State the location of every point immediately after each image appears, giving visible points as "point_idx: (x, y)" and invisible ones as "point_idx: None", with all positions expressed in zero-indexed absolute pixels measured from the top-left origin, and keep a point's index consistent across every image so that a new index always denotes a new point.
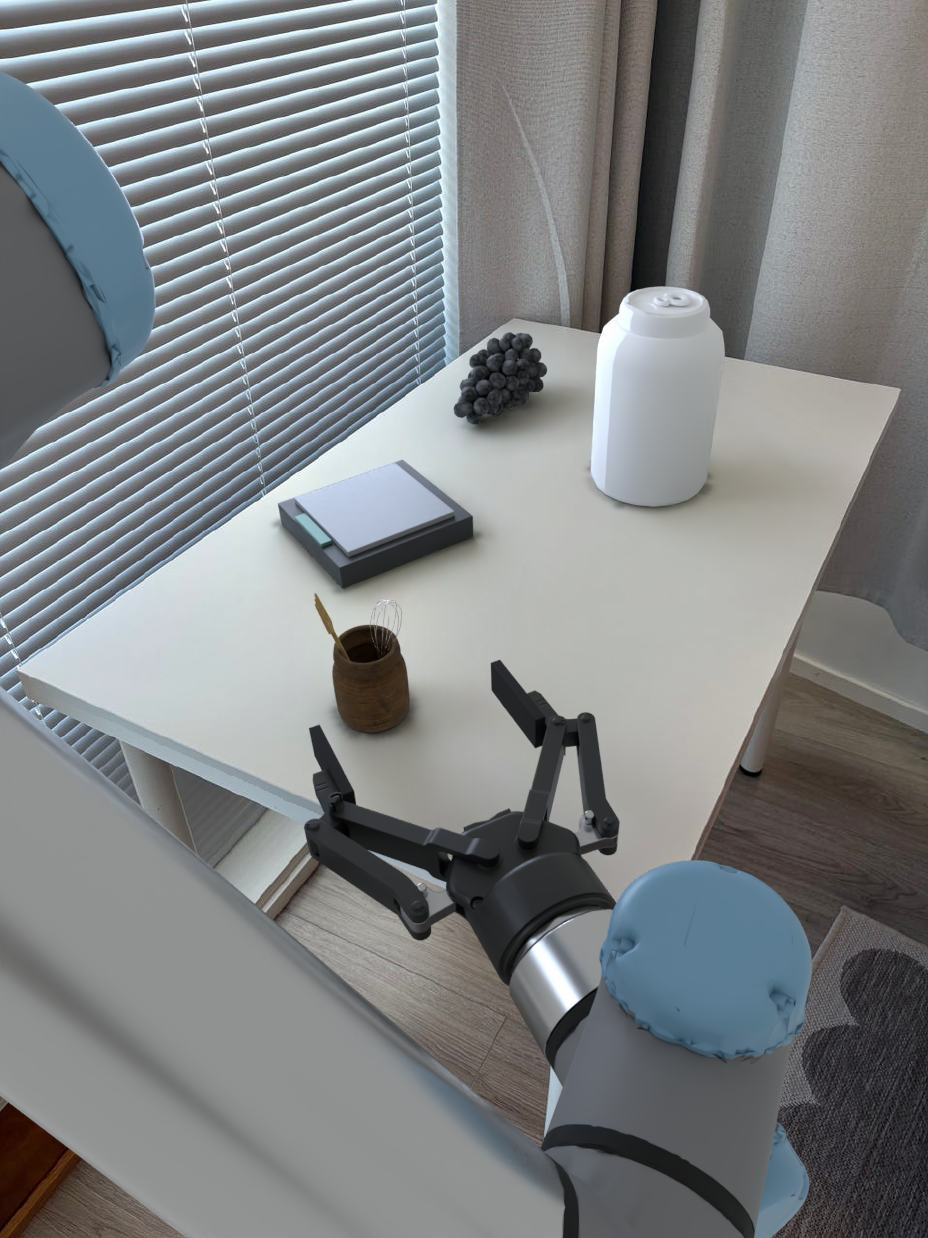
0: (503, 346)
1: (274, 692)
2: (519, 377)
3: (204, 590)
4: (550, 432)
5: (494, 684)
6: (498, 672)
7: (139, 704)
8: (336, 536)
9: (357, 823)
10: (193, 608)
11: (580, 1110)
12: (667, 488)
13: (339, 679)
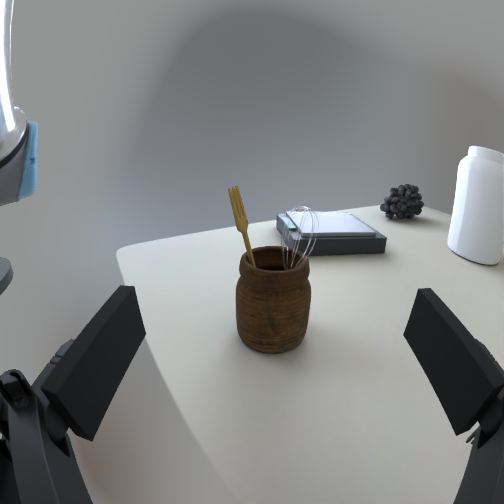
0: (406, 187)
1: (206, 295)
2: (412, 201)
3: (215, 240)
4: (424, 228)
5: (413, 324)
6: (430, 301)
7: (133, 274)
8: (300, 226)
9: (10, 445)
10: (203, 245)
11: None
12: (488, 252)
13: (238, 285)
